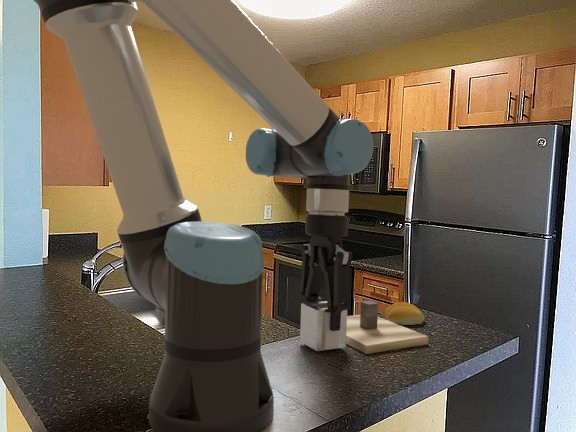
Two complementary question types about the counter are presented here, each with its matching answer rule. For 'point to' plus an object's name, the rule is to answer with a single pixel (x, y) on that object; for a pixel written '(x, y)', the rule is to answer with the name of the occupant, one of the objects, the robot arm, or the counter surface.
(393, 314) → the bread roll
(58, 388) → the counter surface
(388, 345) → the block
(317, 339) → the hollow square tube
